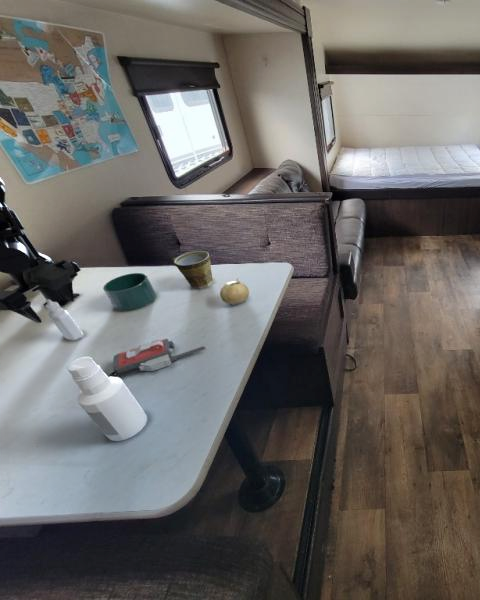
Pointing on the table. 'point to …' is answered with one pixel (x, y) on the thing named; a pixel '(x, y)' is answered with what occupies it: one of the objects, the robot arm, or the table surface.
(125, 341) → the table surface
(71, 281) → the robot arm
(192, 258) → the ceramic cup
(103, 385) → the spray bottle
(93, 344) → the table surface
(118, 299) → the canister
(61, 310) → the eye dropper bottle
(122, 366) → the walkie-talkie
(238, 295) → the onion
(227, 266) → the table surface
